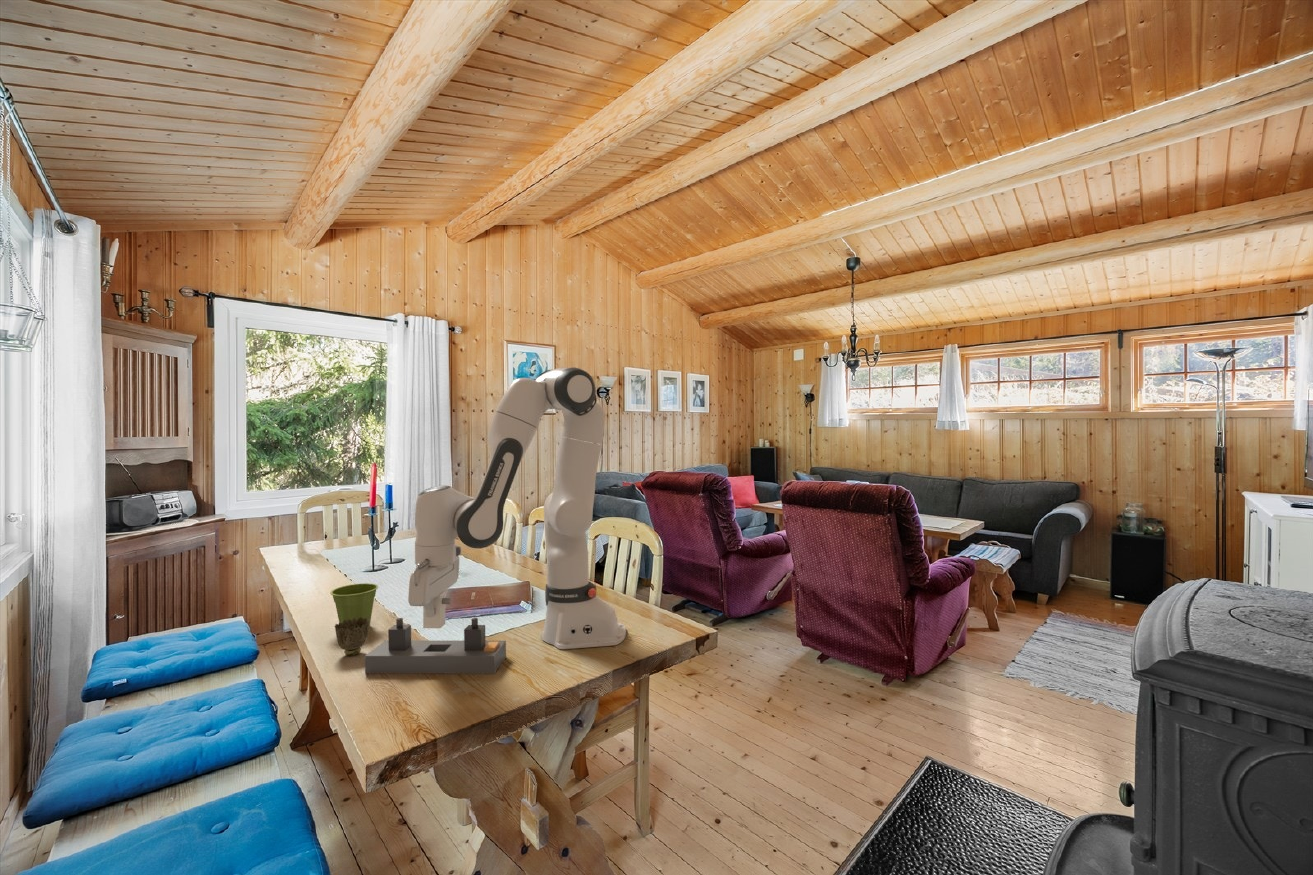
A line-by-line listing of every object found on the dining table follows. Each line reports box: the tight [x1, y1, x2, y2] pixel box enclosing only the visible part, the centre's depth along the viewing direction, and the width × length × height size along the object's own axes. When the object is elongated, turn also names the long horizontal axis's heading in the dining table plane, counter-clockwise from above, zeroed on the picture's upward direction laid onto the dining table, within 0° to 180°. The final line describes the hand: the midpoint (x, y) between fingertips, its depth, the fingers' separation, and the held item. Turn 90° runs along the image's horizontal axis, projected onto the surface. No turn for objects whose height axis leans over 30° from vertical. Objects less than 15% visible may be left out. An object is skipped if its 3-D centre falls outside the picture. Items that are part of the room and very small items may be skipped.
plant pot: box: [330, 582, 379, 628], centre depth 155 cm, size 12×12×11 cm
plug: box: [422, 590, 452, 629], centre depth 131 cm, size 6×3×8 cm, turn 89°
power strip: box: [364, 617, 507, 674], centre depth 131 cm, size 30×9×11 cm, turn 89°
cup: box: [334, 617, 369, 657], centre depth 138 cm, size 8×7×8 cm
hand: (434, 613), depth 131 cm, fingers closed on plug, 3 cm apart
